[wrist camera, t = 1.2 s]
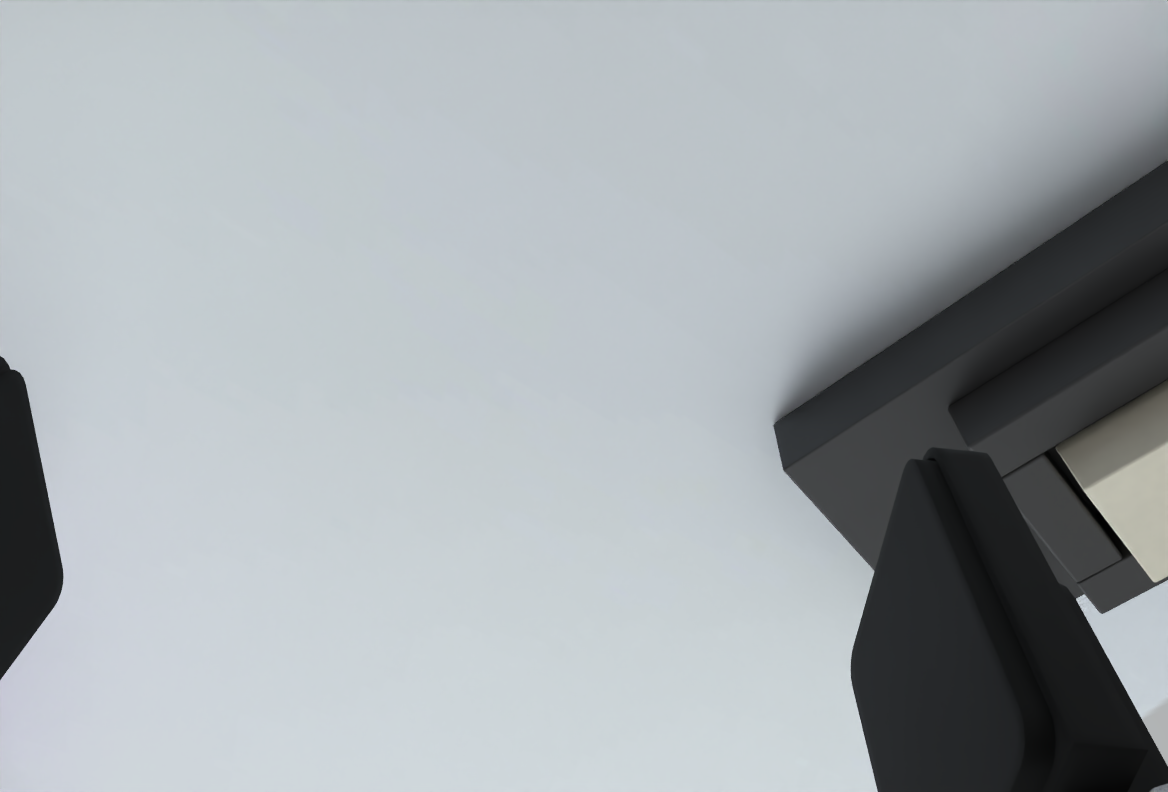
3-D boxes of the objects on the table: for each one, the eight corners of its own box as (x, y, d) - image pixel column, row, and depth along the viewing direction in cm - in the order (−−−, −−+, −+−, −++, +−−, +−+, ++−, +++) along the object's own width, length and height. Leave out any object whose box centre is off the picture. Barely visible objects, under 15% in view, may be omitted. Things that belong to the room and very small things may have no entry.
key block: (1303, 69, 23) (1426, 116, 19) (1441, 327, 25) (1571, 409, 22) (772, 424, 27) (792, 513, 24) (936, 608, 30) (976, 712, 27)
